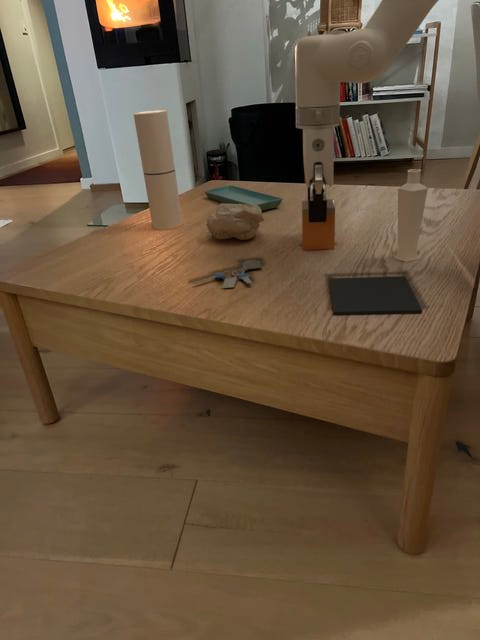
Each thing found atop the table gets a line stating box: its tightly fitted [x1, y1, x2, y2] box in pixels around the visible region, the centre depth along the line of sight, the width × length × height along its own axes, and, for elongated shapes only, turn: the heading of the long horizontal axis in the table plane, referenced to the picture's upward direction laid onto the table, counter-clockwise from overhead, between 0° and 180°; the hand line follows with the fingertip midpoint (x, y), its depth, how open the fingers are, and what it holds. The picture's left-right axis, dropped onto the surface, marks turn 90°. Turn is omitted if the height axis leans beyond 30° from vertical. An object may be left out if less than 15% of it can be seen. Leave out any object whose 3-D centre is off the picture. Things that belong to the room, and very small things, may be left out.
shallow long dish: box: [203, 184, 284, 212], centre depth 127 cm, size 26×9×2 cm, turn 32°
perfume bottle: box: [394, 168, 429, 263], centre depth 80 cm, size 5×4×15 cm
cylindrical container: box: [133, 109, 183, 231], centre depth 108 cm, size 7×7×25 cm
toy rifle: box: [192, 260, 262, 289], centre depth 81 cm, size 14×8×1 cm, turn 133°
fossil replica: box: [206, 203, 265, 241], centre depth 99 cm, size 12×8×10 cm
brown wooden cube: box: [301, 198, 336, 251], centre depth 92 cm, size 8×6×6 cm
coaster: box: [328, 275, 423, 316], centre depth 71 cm, size 12×12×1 cm
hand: (316, 214), depth 91 cm, fingers open, 9 cm apart
